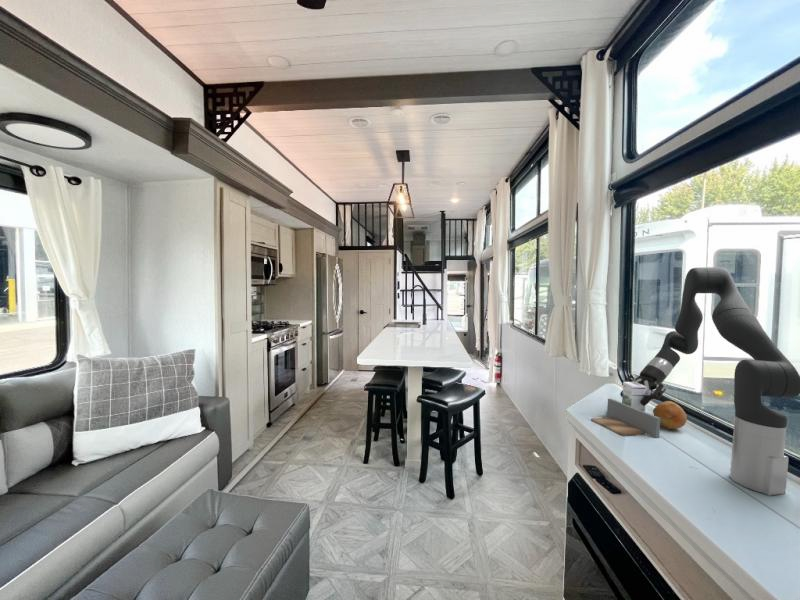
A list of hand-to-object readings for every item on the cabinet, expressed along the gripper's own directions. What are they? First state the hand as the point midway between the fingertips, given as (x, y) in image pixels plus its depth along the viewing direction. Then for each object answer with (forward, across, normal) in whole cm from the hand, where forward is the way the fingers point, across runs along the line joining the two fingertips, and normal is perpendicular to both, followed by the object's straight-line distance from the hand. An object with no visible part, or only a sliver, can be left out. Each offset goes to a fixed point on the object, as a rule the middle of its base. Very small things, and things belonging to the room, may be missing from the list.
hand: (631, 400), depth 129 cm
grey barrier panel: (+9, +5, +2) cm, 11 cm away
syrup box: (+5, 0, +6) cm, 8 cm away
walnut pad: (+14, +5, -3) cm, 15 cm away
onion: (0, +9, +11) cm, 14 cm away
